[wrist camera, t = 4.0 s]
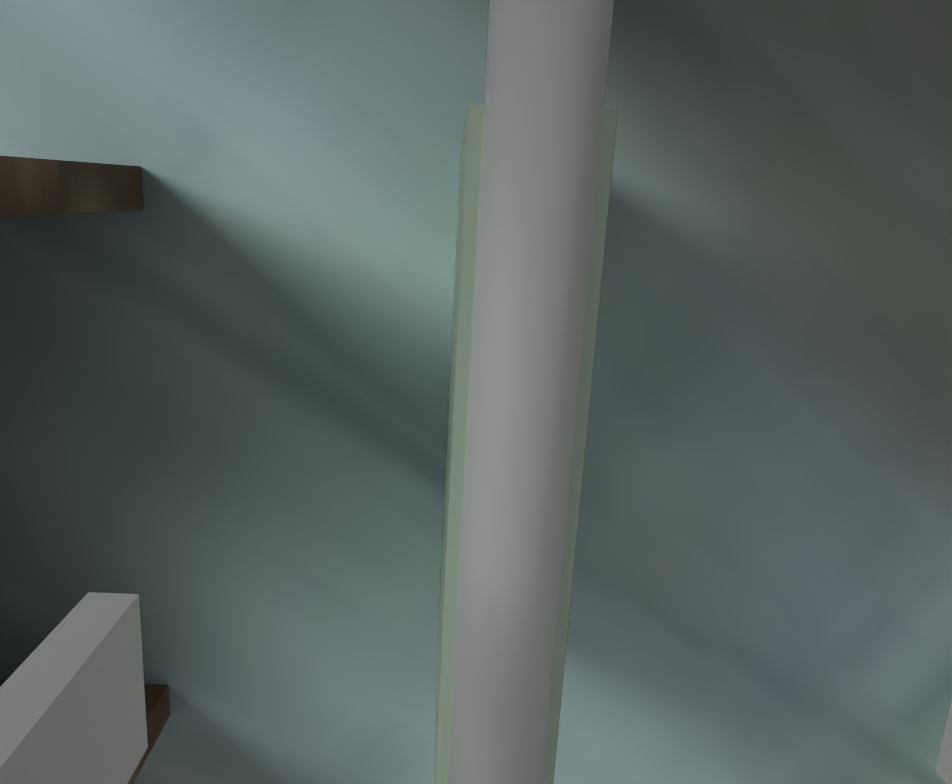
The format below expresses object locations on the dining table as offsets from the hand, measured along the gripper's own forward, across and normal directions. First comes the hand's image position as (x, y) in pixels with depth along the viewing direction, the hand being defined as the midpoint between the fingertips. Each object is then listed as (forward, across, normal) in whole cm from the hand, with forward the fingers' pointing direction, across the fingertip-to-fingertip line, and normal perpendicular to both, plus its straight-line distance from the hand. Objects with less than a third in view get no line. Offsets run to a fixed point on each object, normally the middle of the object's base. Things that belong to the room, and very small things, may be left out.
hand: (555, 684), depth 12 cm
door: (+19, 0, 0) cm, 19 cm away
